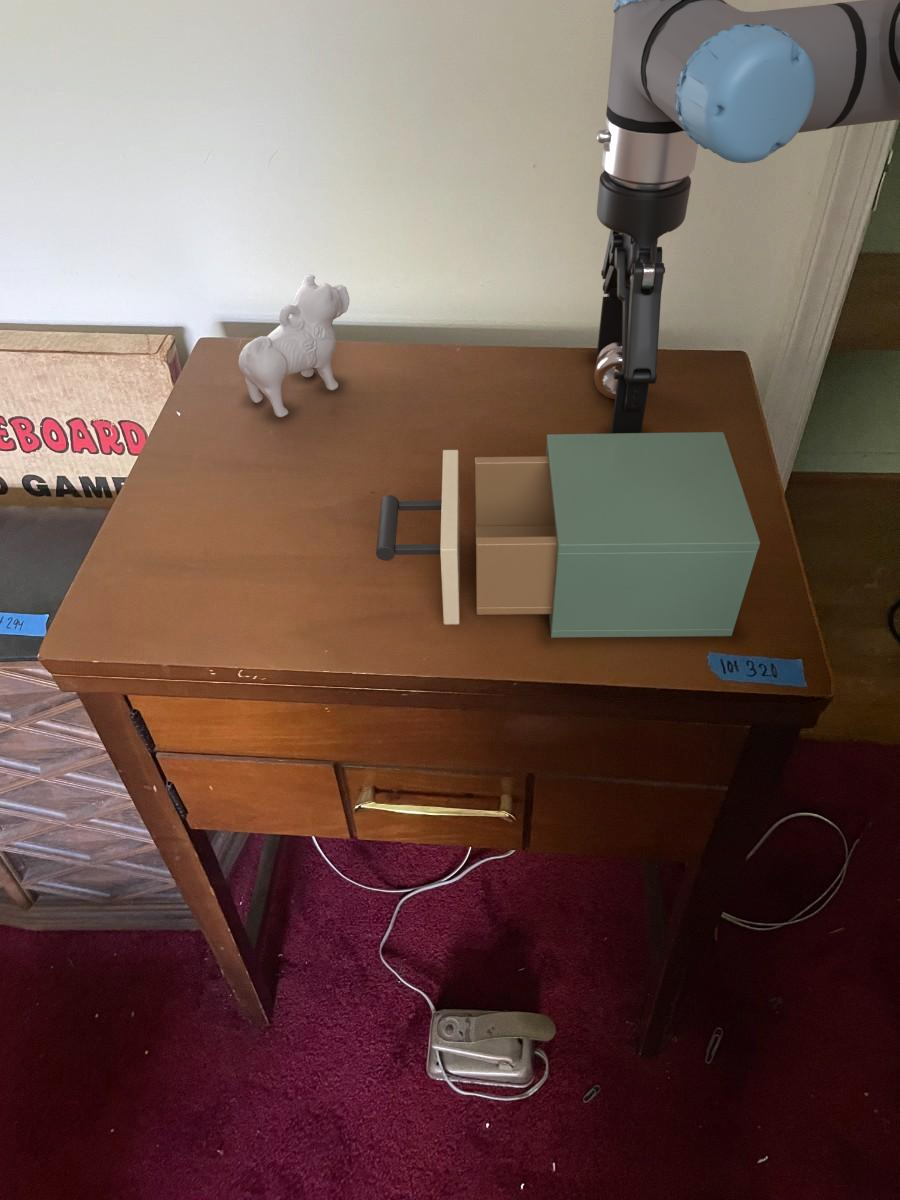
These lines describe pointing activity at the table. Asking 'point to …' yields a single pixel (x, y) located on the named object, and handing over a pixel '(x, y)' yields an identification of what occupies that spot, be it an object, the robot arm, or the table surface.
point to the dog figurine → (296, 343)
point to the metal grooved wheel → (608, 369)
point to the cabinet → (648, 535)
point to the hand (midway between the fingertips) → (617, 392)
